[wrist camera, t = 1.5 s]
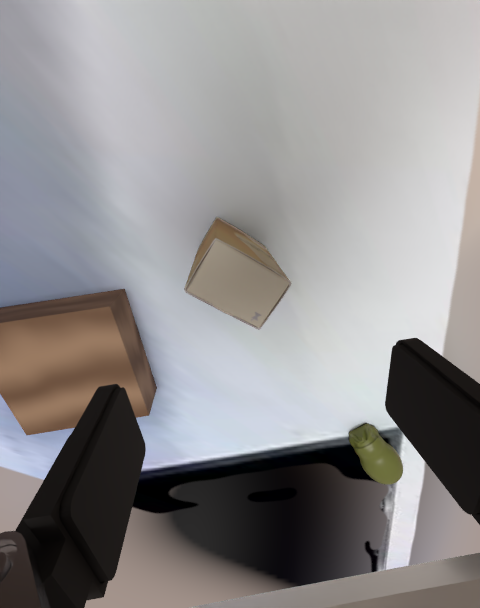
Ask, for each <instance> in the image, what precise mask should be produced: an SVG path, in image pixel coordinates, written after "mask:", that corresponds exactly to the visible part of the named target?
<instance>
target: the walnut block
mask: <svg viewBox="0 0 480 608" xmlns="http://www.w3.org/2000/svg"><path fill="white" fill-rule="evenodd" d="M112 384H118V385H119V386H120V388H122V387H124V388H125V390H126V392H127V395H128V398H129V400H130V403H131V406H132V409H133V412H134V414H135V417H142V416H148V415H149V414H150V410H151V407H152V403H153V399H154V396H155V392H156V389H157V387H156V384H155V381H154V378H153V375H152V372H151V369H150V366H149V363H148V360H147V357H146V353H145V350H144V347H143V344H142V341H141V338H140V335H139V332H138V329H137V326H136V323H135V320H134V317H133V314H132V310H131V307H130V304H129V301H128V298H127V295H126V292H125V289H121V290H114V291H107V292H101V293H94V294H88V295H81V296H74V297H68V298H61V299H55V300H48V301H41V302H35V303H28V304H22V305H15V306H8V307H2V308H0V394H1V396H2V397H3V399H4V400H5V402H6V403H7V405H8V407H9V408H10V410H11V411H12V413H13V414H14V416H15V418H16V419H17V421H18V422H19V424H20V425H21V427H22V429H23V430H24V432H25V433H26V435H31V434H38V433H44V432H50V431H56V430H62V429H68V428H74V427H76V425H77V423H78V422H79V420H80V418H81V416H82V415H83V413H84V411H85V409H86V407H87V406H88V404H89V402H90V400H91V399H92V397H93V395H94V393H95V391H96V390H97V388H98V387H100V386H106V385H112Z"/></svg>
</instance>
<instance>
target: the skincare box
mask: <svg viewBox="0 0 480 608" xmlns="http://www.w3.org/2000/svg"><path fill="white" fill-rule="evenodd" d="M290 285H291V282H290V281H289V279H288V278H287V277H286V275H285V274H284V272H283V271H282V270H281V268H280V267H279V265H278V264H277V263H276V261H275V260H274V258H273V257H272V256H271V254H270V253H269V251H268V250H267V249H266V247H265V246H264V245H262V244H261V243H260V242H258V241H257V240H255V239H254V238H252V237H250V236H249V235H247V234H246V233H244V232H243V231H241V230H239V229H238V228H236V227H234V226H232V225H231V224H229V223H227V222H225V221H224V220H222V219H220V218H218V217H216V219H215V220H214V222H213V224H212V225H211V227H210V229H209V231H208V232H207V234H206V236H205V237H204V239H203V241H202V243H201V245H200V247H199V248H198V251H197V254H196V257H195V260H194V263H193V265H192V268H191V271H190V274H189V277H188V280H187V283H186V286H185V288H184V290H185V292H186V293H188V294H190V295H192V296H193V297H195V298H197V299H199V300H201V301H203V302H205V303H207V304H209V305H211V306H213V307H215V308H216V309H218V310H220V311H222V312H224V313H226V314H228V315H230V316H233V317H234V318H236V319H238V320H240V321H242V322H244V323H246V324H248V325H250V326H252V327H254V328H256V329H258V330H259V329H260V328H261V327H262V326H263V324H264V323H265V322H266V320H267V319H268V317H269V316H270V315H271V313H272V312H273V311H274V309H275V308H276V306H277V305H278V304H279V302H280V301H281V299H282V298H283V296H284V295H285V293H286V291H287V290H288V288H289V287H290Z"/></svg>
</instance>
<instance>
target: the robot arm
mask: <svg viewBox="0 0 480 608" xmlns="http://www.w3.org/2000/svg"><path fill="white" fill-rule="evenodd" d="M385 406H386V410H387V412H388V414H389V415H390V417H391V418H392V419H393V420H394V422H395V423H396V424H397V426H398V427H399V428H400V430H401V431H402V432H403V433H404V435H405V436H406V437H407V439H408V440H409V441H410V442H411V444H412V445H413V446H414V448H415V449H416V450H417V451H418V453H419V454H420V455H421V457H422V458H423V459H424V460H425V462H426V463H427V464H428V466H429V467H430V468H431V469H432V471H433V472H434V473H435V475H436V476H437V477H438V479H439V480H440V481H441V482H442V484H443V485H444V486H445V488H446V489H447V490H448V491H449V493H450V494H451V495H452V497H453V498H454V499H455V500H456V502H457V503H458V504H459V506H460V507H461V508H462V509H463V510H464V511H465V512H466V513H468V514H472V516H473V517H474V518H475V519H476V521H477V522H478V523H479V524H480V384H479V383H478V382H476V381H475V380H474V379H472V378H471V377H470V376H468V375H467V374H465V373H464V372H463V371H461V370H460V369H459V368H457V367H456V366H454V365H453V364H452V363H451V362H449V361H448V360H446V359H445V358H444V357H442V356H441V355H440V354H438V353H437V352H436V351H434V350H433V349H432V348H430V347H429V346H428V345H426V344H425V343H424V342H422V341H421V340H419V339H417V338H411V339H405V340H399V341H398V342H397V343H396V345H395V346H393V348H392V354H391V362H390V370H389V378H388V386H387V394H386V401H385ZM144 457H145V442H144V439H143V437H142V434H141V431H140V428H139V425H138V423H137V420H136V417H135V414H134V412H133V409H132V406H131V403H130V400H129V398H128V395H127V392H126V390H125V388H124V387H122V388H120V386H119V385H118V384H112V385H106V386H100V387H98V388H97V390H96V391H95V393H94V395H93V397H92V399H91V400H90V402H89V404H88V406H87V407H86V409H85V411H84V413H83V415H82V416H81V418H80V420H79V422H78V423H77V425H76V427H75V429H74V430H73V432H72V434H71V435H70V436H69V438H68V439H67V441H66V443H65V444H64V446H63V448H62V450H61V451H60V453H59V455H58V457H57V458H56V460H55V462H54V464H53V465H52V467H51V469H50V471H49V473H48V474H47V476H46V478H45V480H44V481H43V484H42V485H41V487H40V488H39V490H38V492H37V494H36V496H35V497H34V499H33V501H32V502H31V504H30V506H29V508H28V509H27V511H26V513H25V515H24V517H23V518H22V520H21V522H20V524H19V525H18V527H17V529H16V531H8V532H3V533H0V608H84V606H85V603H86V600H91V599H96V598H102V597H104V594H105V591H106V587H107V583H108V581H110V580H112V579H113V577H114V576H115V573H116V570H117V565H118V562H119V558H120V554H121V550H122V546H123V542H124V537H125V533H126V529H127V525H128V521H129V517H130V513H131V509H132V505H133V501H134V497H135V493H136V489H137V485H138V481H139V477H140V473H141V469H142V465H143V461H144ZM191 608H480V553H476V554H471V555H465V556H460V557H455V558H449V559H444V560H438V561H432V562H427V563H421V564H416V565H410V566H405V567H399V568H394V569H389V570H383V571H378V572H373V573H368V574H362V575H357V576H352V577H346V578H341V579H336V580H330V581H325V582H320V583H315V584H309V585H304V586H299V587H293V588H288V589H283V590H278V591H272V592H267V593H262V594H257V595H252V596H247V597H241V598H236V599H231V600H226V601H221V602H216V603H211V604H206V605H200V606H195V607H191Z"/></svg>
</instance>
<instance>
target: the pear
mask: <svg viewBox="0 0 480 608" xmlns="http://www.w3.org/2000/svg"><path fill="white" fill-rule="evenodd" d="M349 442H350V444H351V445H352V446H353V448H354V450H355V452H356V453H357V454H358V456H359V457H360V462H361V465H362V467H363V469H364V470H365V471H366V473H367V474H368V475H369V476H370V477H371V478H373V479H374V480H375V481H377V482H379V483H381V484H393V483H396V482H397V481H398V480H399V479H400V478H401V476H402V473H403V465H402V461H401V459H400V457H399V455H398V453H397V452H396V450H395V449H394V448H393V447H392V446H391V445H389V444H388V443H386V442H385V441H384V440H383V439H382V437H381V436H380V435H379V433H378V431H377V429H376V428H375V427H374V426H371V425H369V424H365V425H363V426H361V427H358V428H356V429H354V430H352V431H351V432H349Z"/></svg>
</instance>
